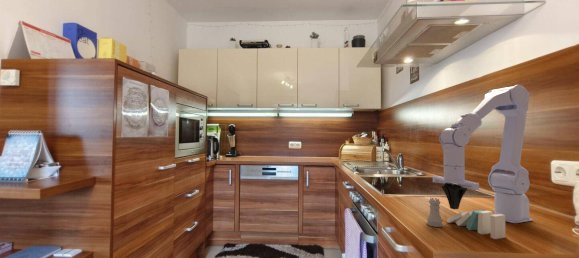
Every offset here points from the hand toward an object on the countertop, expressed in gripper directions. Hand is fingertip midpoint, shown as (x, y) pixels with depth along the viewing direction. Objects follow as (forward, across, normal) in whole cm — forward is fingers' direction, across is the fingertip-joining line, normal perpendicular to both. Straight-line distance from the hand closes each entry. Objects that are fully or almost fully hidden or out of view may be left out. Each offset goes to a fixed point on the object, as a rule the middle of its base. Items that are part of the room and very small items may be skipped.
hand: (454, 208), depth 84 cm
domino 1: (+4, -1, 0) cm, 4 cm away
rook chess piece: (+5, 0, -8) cm, 9 cm away
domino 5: (+4, +13, 0) cm, 14 cm away
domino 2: (+4, +2, 0) cm, 5 cm away
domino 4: (+4, +9, 0) cm, 10 cm away
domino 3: (+4, +6, 0) cm, 7 cm away
